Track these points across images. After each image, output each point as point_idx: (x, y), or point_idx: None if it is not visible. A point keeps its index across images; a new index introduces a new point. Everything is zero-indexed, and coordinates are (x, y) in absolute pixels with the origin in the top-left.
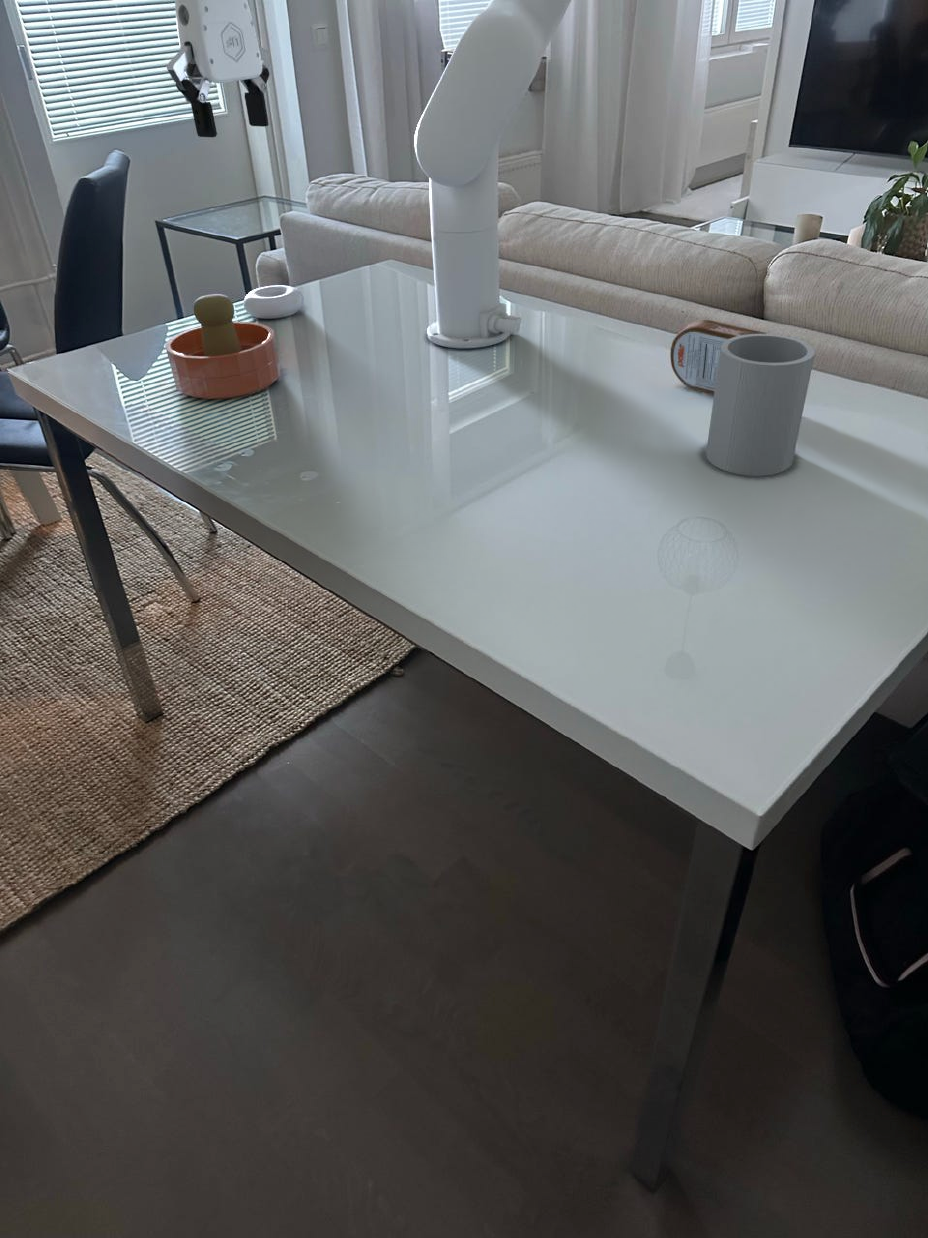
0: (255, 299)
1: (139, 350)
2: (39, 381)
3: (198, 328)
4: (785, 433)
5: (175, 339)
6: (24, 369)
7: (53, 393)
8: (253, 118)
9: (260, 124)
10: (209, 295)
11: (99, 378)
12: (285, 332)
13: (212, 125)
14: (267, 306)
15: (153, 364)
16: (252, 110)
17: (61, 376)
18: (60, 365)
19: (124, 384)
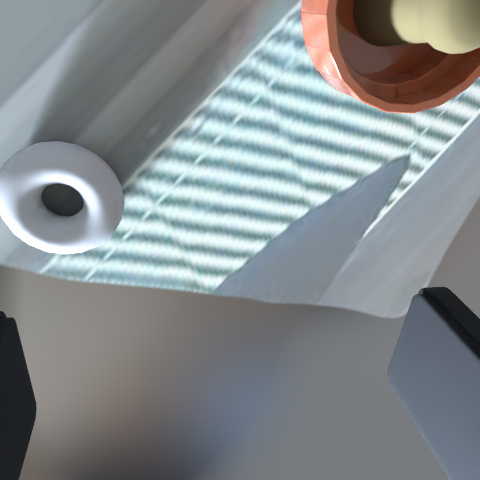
0: (110, 206)
1: (309, 247)
2: (431, 265)
3: (381, 99)
4: None
5: (435, 97)
6: (402, 310)
7: (463, 219)
8: (22, 409)
9: (19, 343)
10: (478, 16)
11: (410, 210)
12: (144, 90)
13: (472, 317)
14: (109, 174)
15: (350, 185)
16: (6, 452)
17: (413, 256)
18: (382, 287)
19: (423, 161)
